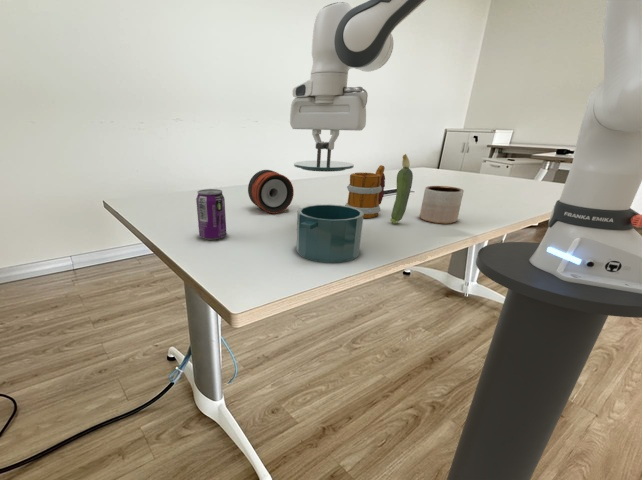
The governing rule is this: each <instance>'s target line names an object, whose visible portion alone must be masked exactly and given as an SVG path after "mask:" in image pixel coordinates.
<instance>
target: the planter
mask: <svg viewBox="0 0 642 480" xmlns="http://www.w3.org/2000/svg"><path fill="white" fill-rule="evenodd" d="M423 191H424V193H423V197H422V202H421V206H420V207H421V208H420V212H419V218H420V219H421V220H423V221H424V222H428V223H431V224H432V223H433V224H439V225H440V224H441V225H448V224H453V223H456V222H457V221H458V219H459V215H460V209H461V205H462V200H463V196H464V192H465V190H464V189H463V188H460V187H455V186H448V185H428V186H425V188H424V190H423Z"/></svg>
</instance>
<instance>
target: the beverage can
mask: <svg viewBox="0 0 642 480" xmlns="http://www.w3.org/2000/svg"><path fill="white" fill-rule="evenodd" d="M195 201H196V213H197V221H198V222H197V225H198V236H199V237H200V238H203V239H204V240H206V241H207V240H208V241H216V240H220V239H222V238H224V237H226V236H227V220H226V219H227V215H226V201H225V196H224V194H223V190H222V189H218V188H205V189H200V190H197V196H196V198H195Z"/></svg>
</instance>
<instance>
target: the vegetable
mask: <svg viewBox="0 0 642 480" xmlns="http://www.w3.org/2000/svg"><path fill="white" fill-rule="evenodd" d="M401 166H402V168H401V169H399V170H398V172H397V174H396V194H395V195H396V196H395V201H394V203H393V206H392V211H391V214H390V222H391V223H392V224H395V225H396V224H398V222H400V221H401V220H402V219H403V217H404V215H405V213H406V210H407V206H408V202H409V198H410V194H411V190H412V186H413V179H414V175H413V174H414V173H413V171H412V169H410V166H411V165H410V159H409V157H408V155H407V154H406V153H404V154H403V155H402V161H401Z"/></svg>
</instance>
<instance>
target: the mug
mask: <svg viewBox="0 0 642 480" xmlns="http://www.w3.org/2000/svg"><path fill="white" fill-rule="evenodd" d="M385 169H386V167H385V166H384V165H381V164H380V165H379V166H378V167H377V169H376V171H375V173H373V172H366V171H365V172H354V173H350V175H349V184H347V186H346V189H347V191H348V195H347V202H346V203H345V204H344V206H348V207H353V208H356V209H359V210H361V211H362V212H363V213H364V216H363V219H373V218H376V217H378V215H379V212H380V211H381V206H380V205H381V204H382V201H383V198H384V197H385V187H386V176H385V173H384V172H385Z"/></svg>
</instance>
